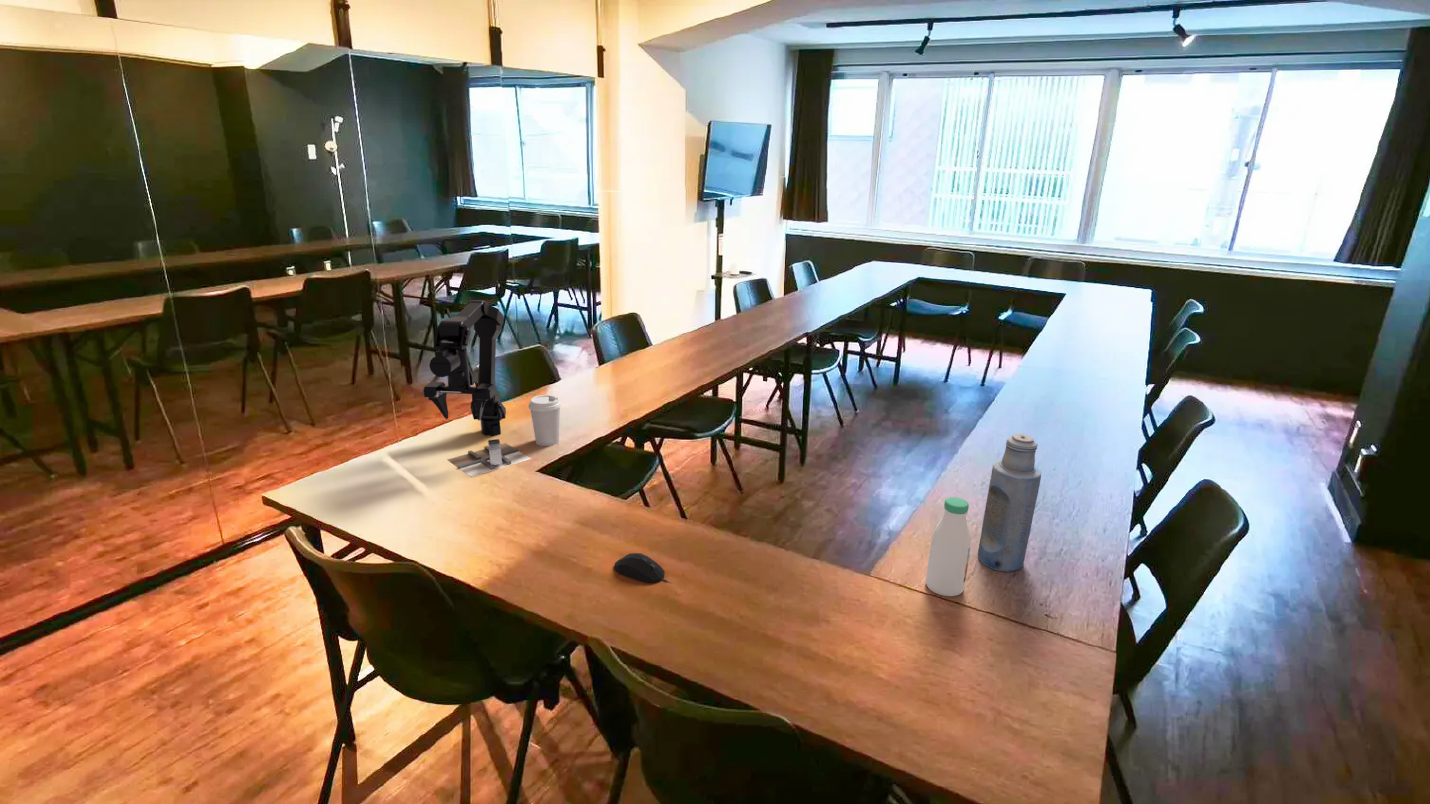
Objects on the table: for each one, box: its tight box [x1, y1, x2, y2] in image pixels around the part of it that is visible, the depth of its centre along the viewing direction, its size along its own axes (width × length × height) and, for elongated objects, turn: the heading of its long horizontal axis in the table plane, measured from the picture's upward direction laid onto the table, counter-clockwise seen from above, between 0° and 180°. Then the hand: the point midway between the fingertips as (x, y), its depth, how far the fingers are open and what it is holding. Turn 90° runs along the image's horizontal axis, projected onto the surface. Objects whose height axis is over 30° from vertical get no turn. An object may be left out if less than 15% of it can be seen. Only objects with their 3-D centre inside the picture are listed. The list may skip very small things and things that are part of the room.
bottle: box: [977, 433, 1042, 573], centre depth 154 cm, size 10×10×30 cm
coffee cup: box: [528, 394, 562, 447], centre depth 212 cm, size 10×10×15 cm
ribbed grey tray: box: [447, 442, 532, 478], centre depth 202 cm, size 15×18×2 cm
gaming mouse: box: [613, 552, 673, 585], centre depth 152 cm, size 6×15×4 cm, turn 59°
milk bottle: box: [925, 496, 972, 598], centre depth 146 cm, size 8×8×20 cm
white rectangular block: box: [487, 438, 502, 465], centre depth 198 cm, size 6×3×5 cm, turn 20°
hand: (463, 419), depth 199 cm, fingers open, 9 cm apart
